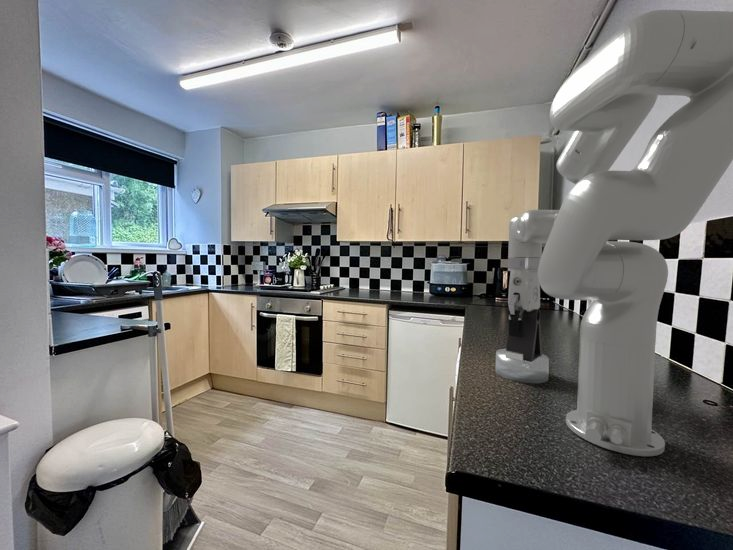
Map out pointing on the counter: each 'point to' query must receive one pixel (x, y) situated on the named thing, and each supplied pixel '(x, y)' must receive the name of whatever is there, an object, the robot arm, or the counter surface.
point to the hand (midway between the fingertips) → (522, 333)
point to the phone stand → (528, 337)
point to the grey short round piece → (521, 367)
